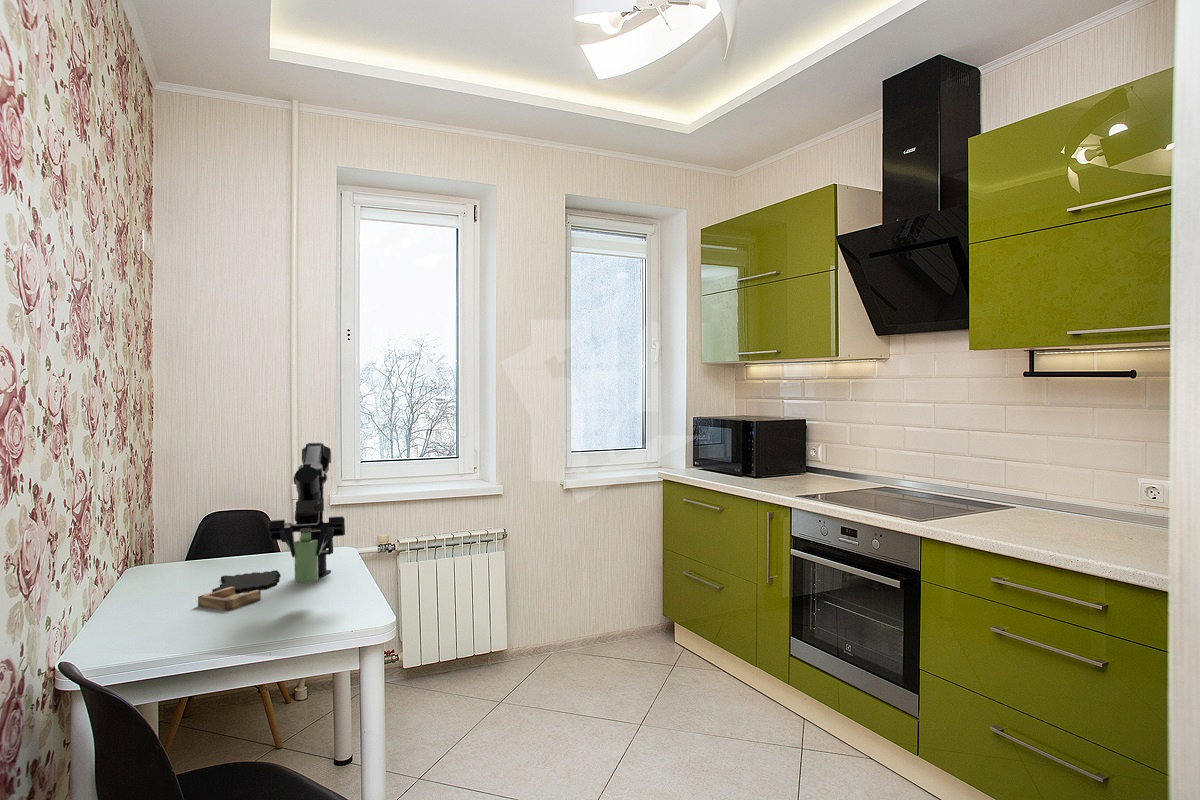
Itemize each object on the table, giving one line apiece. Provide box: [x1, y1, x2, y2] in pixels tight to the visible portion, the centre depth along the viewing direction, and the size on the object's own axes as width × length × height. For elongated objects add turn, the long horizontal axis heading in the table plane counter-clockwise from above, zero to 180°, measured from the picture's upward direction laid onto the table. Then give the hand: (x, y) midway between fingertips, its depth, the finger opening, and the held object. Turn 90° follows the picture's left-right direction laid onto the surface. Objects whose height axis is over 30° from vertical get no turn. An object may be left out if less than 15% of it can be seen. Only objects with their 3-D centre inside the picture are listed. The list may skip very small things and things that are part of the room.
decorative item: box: [211, 569, 281, 594], centre depth 202 cm, size 23×2×20 cm
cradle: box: [197, 587, 262, 612], centre depth 183 cm, size 10×11×2 cm
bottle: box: [293, 528, 319, 584], centre depth 180 cm, size 6×6×13 cm
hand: (305, 555), depth 179 cm, fingers closed on bottle, 6 cm apart
